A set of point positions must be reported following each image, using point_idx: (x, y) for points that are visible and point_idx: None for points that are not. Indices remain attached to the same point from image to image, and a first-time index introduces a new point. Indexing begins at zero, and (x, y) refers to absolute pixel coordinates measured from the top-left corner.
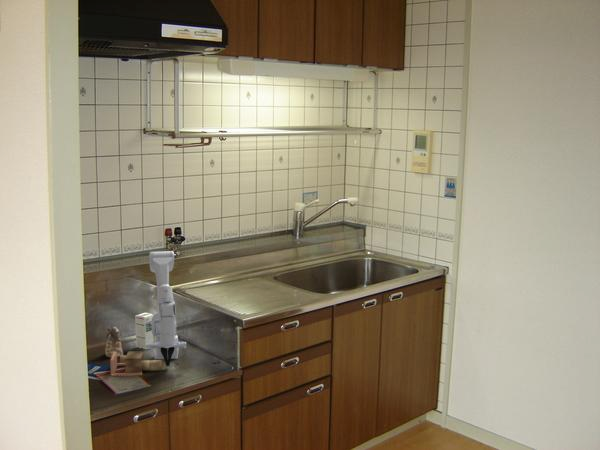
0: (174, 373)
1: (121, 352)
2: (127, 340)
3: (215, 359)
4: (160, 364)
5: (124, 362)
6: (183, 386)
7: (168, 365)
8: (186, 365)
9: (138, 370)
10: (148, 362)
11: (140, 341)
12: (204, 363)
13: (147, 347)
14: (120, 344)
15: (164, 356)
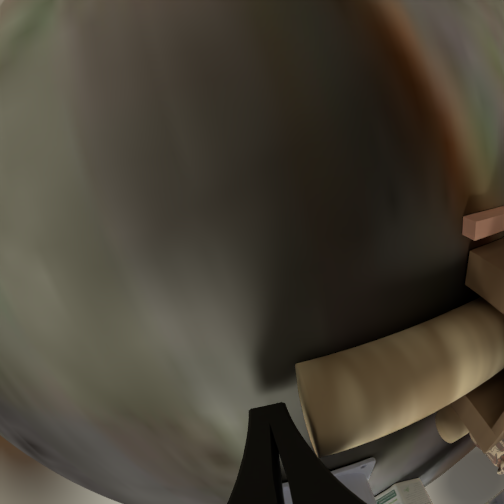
0: (158, 309)
1: None
2: (429, 483)
3: (62, 472)
4: (348, 392)
5: None
6: (3, 7)
7: (259, 412)
8: (147, 444)
9: (500, 256)
10: (462, 369)
11: (417, 498)
12: (69, 452)
13: (390, 491)
14: (497, 449)
15: (326, 491)
